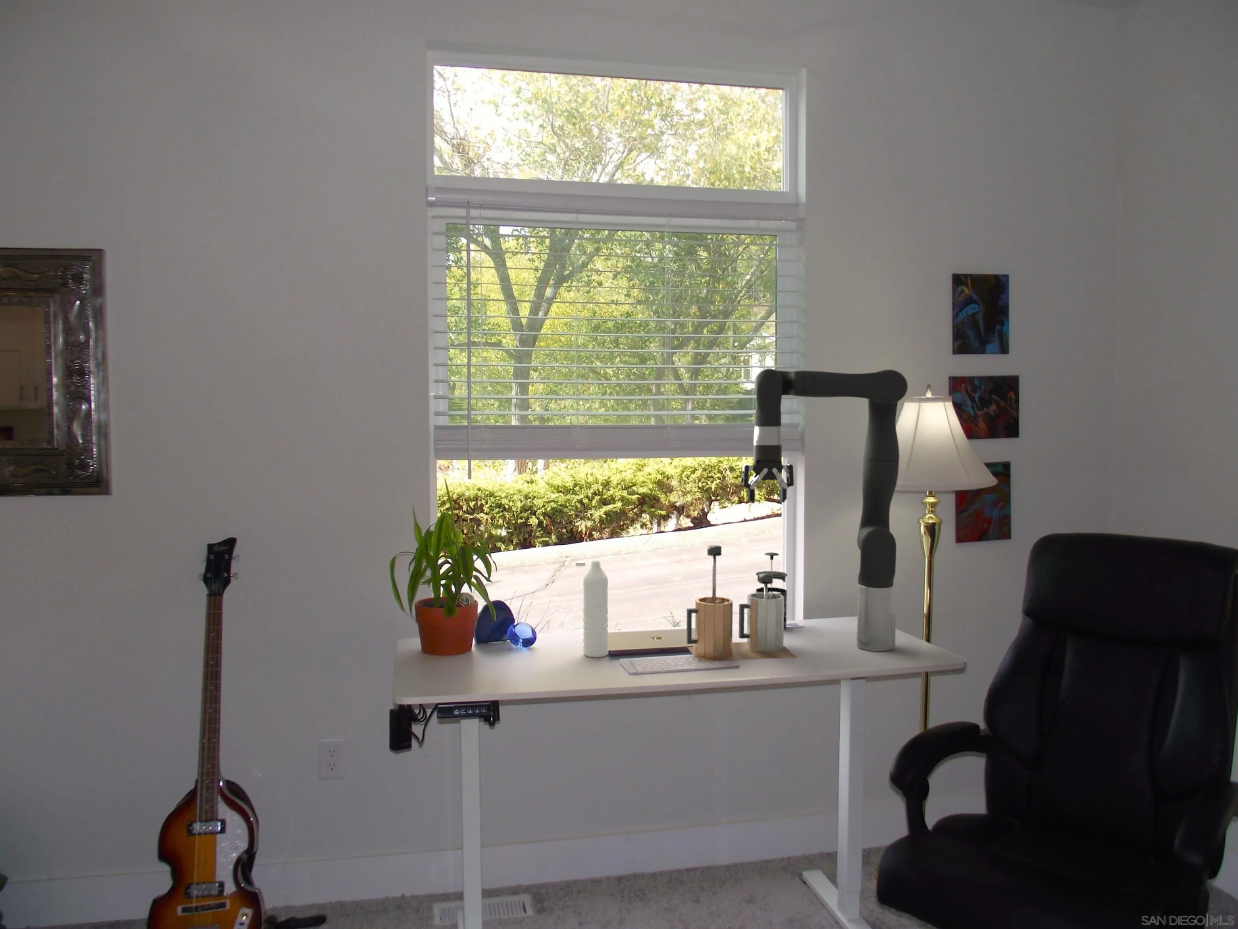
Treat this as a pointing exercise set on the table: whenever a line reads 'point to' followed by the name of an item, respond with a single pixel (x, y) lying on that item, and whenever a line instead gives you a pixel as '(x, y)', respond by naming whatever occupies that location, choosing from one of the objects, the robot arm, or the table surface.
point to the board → (745, 653)
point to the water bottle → (595, 611)
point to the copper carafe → (711, 627)
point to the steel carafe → (763, 622)
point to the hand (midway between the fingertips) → (767, 502)
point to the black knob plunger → (714, 568)
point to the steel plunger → (765, 582)
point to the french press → (771, 589)
